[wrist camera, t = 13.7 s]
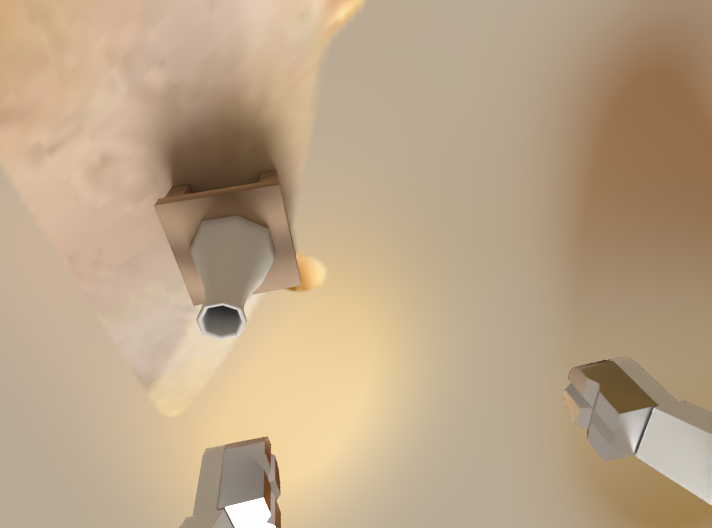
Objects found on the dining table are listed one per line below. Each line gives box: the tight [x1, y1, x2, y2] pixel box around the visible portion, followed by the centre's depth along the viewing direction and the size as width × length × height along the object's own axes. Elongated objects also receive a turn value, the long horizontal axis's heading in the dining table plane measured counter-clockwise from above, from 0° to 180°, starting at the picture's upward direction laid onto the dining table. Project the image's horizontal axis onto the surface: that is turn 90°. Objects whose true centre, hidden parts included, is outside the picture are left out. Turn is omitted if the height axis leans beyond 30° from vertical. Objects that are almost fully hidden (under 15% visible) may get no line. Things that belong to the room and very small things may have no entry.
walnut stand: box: [154, 170, 301, 305], centre depth 38 cm, size 10×10×5 cm
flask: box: [190, 215, 276, 340], centre depth 32 cm, size 7×7×10 cm
